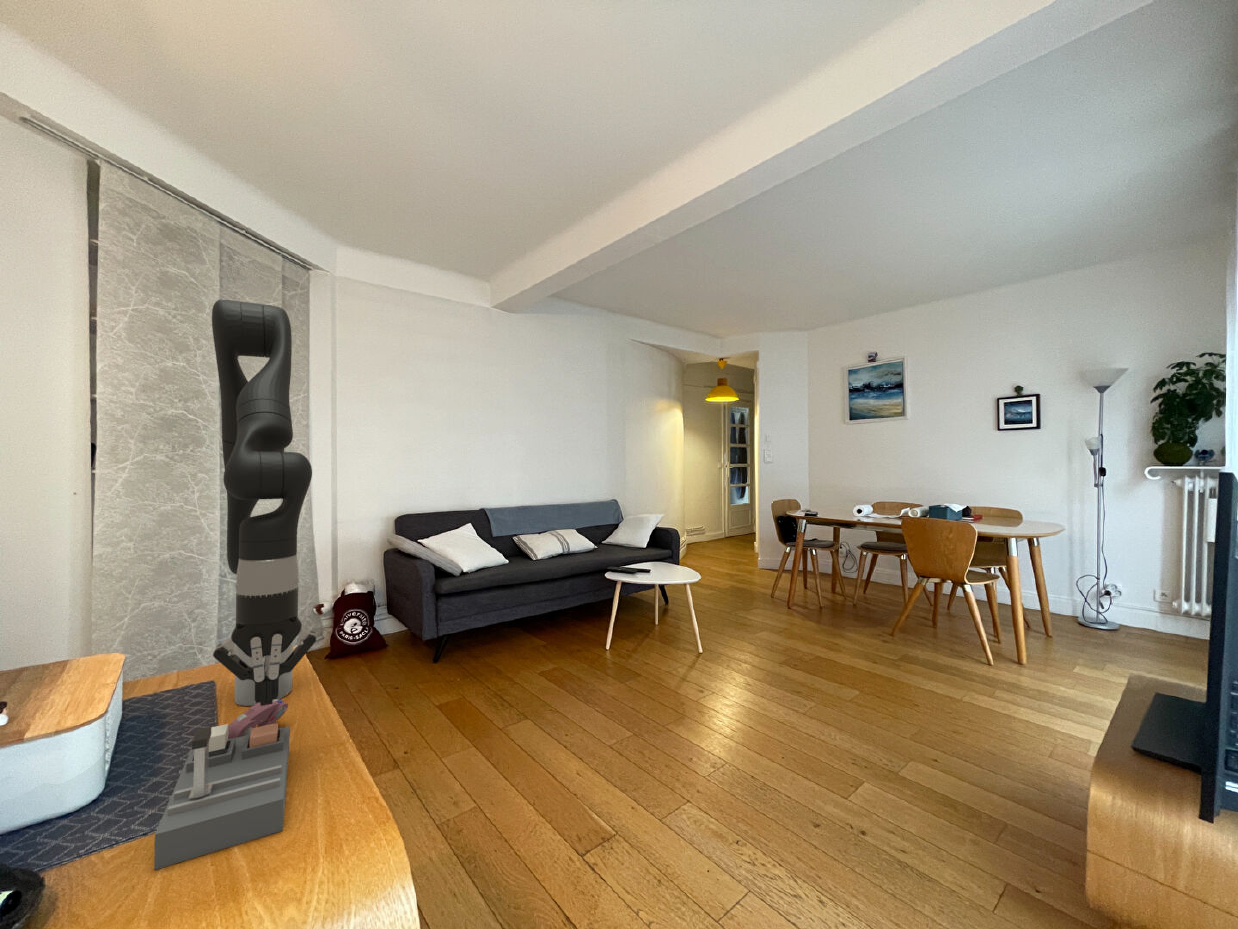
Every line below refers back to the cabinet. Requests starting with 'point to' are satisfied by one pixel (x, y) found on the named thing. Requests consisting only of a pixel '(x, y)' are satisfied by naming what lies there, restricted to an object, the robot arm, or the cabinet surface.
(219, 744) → the cream button
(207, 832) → the control panel
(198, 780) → the slide paddle
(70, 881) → the cabinet surface
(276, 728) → the terracotta button
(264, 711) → the video game controller
